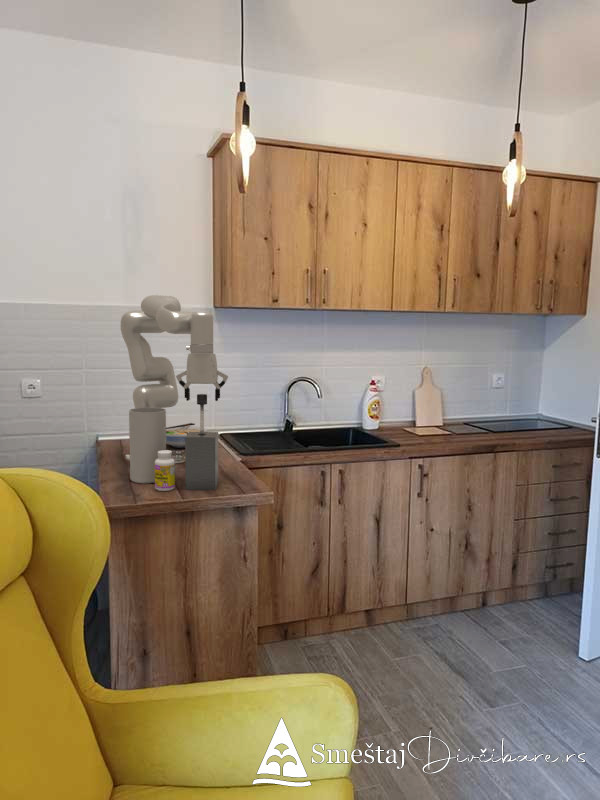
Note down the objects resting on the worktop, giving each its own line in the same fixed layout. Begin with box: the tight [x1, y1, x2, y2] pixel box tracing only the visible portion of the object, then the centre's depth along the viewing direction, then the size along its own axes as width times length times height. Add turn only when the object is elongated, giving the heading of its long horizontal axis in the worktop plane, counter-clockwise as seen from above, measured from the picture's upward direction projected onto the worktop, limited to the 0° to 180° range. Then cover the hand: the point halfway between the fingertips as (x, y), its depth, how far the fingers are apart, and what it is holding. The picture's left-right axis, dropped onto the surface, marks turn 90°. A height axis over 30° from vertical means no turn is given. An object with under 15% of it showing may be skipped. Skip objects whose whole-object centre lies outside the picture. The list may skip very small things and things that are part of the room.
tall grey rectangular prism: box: [184, 431, 219, 491], centre depth 207 cm, size 10×13×18 cm
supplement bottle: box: [154, 449, 176, 492], centre depth 201 cm, size 7×7×13 cm
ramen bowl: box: [166, 422, 208, 449], centre depth 270 cm, size 25×23×8 cm
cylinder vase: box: [128, 407, 167, 484], centre depth 212 cm, size 12×12×25 cm
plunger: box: [196, 393, 208, 435], centre depth 204 cm, size 7×7×21 cm
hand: (202, 400), depth 202 cm, fingers open, 9 cm apart
